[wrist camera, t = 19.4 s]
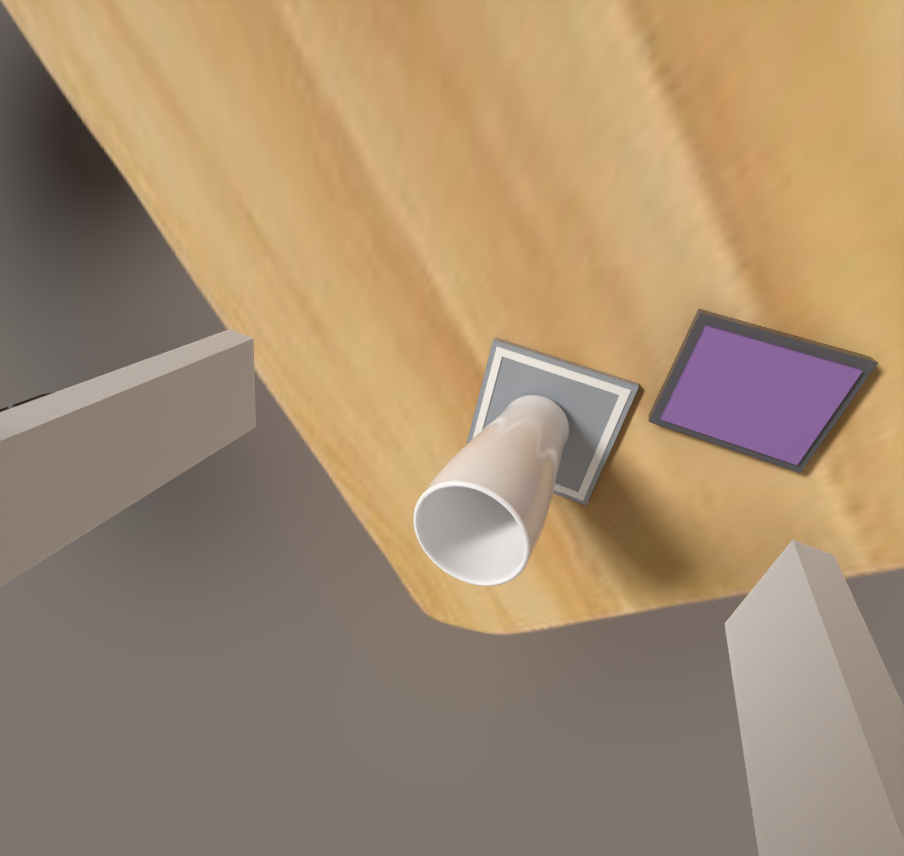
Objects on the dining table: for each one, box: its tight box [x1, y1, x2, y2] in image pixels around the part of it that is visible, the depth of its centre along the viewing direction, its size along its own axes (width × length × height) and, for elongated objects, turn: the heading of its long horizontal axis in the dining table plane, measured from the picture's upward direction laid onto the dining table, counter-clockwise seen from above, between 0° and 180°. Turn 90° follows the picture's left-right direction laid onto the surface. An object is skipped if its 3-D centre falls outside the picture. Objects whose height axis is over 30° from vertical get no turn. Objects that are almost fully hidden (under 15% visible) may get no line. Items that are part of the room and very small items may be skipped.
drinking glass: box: [413, 395, 569, 586], centre depth 31 cm, size 7×7×15 cm
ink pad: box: [649, 309, 878, 473], centre depth 31 cm, size 10×8×2 cm
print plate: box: [467, 338, 639, 506], centre depth 38 cm, size 11×11×1 cm
